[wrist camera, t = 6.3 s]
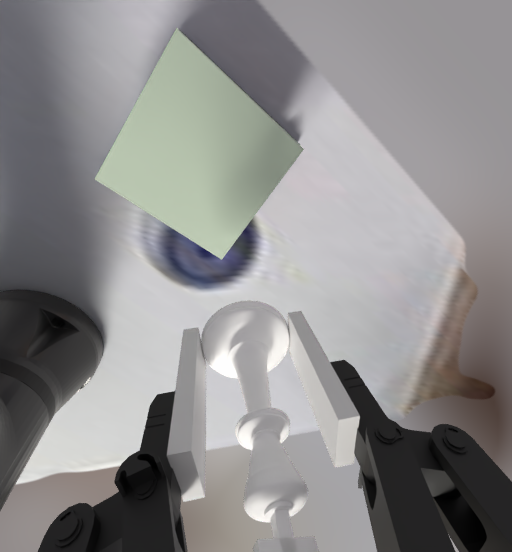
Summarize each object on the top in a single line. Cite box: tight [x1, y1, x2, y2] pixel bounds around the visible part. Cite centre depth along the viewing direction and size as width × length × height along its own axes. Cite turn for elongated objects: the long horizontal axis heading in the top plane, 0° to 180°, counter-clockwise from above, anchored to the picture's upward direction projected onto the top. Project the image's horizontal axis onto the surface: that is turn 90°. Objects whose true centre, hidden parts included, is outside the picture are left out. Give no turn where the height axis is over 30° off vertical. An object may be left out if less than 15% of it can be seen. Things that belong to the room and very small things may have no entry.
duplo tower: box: [95, 28, 304, 259], centre depth 23 cm, size 14×14×11 cm
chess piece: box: [201, 301, 319, 552], centre depth 11 cm, size 5×5×10 cm
